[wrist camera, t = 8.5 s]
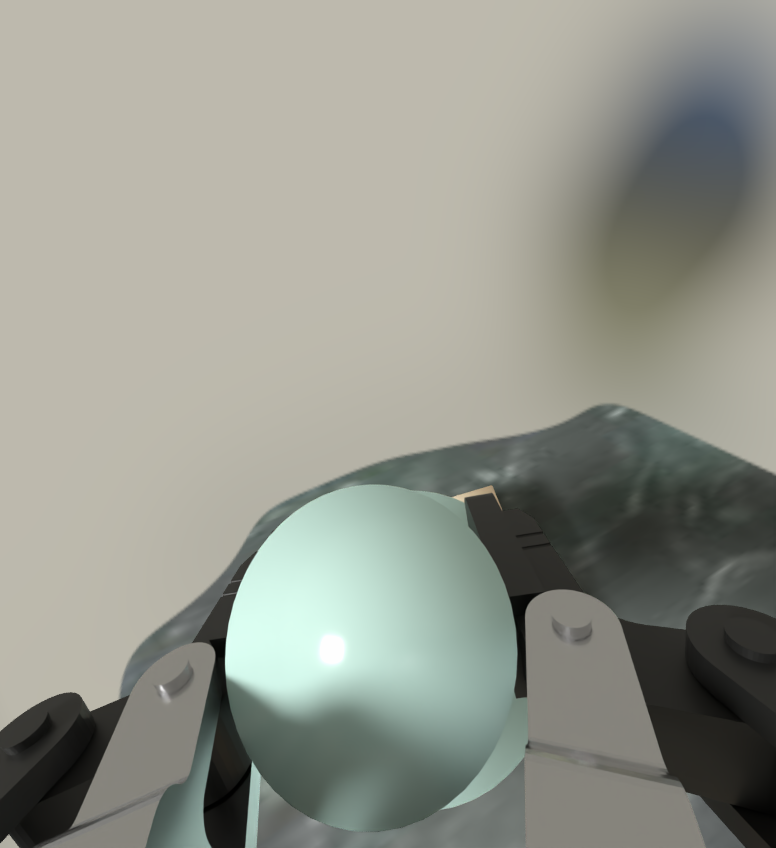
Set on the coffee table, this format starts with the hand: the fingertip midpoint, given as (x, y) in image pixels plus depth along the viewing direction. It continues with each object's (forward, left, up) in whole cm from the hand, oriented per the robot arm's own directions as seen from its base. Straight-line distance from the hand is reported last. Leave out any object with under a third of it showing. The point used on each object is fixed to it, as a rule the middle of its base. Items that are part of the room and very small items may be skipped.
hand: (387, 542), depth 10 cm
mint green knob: (0, +2, -4) cm, 5 cm away
